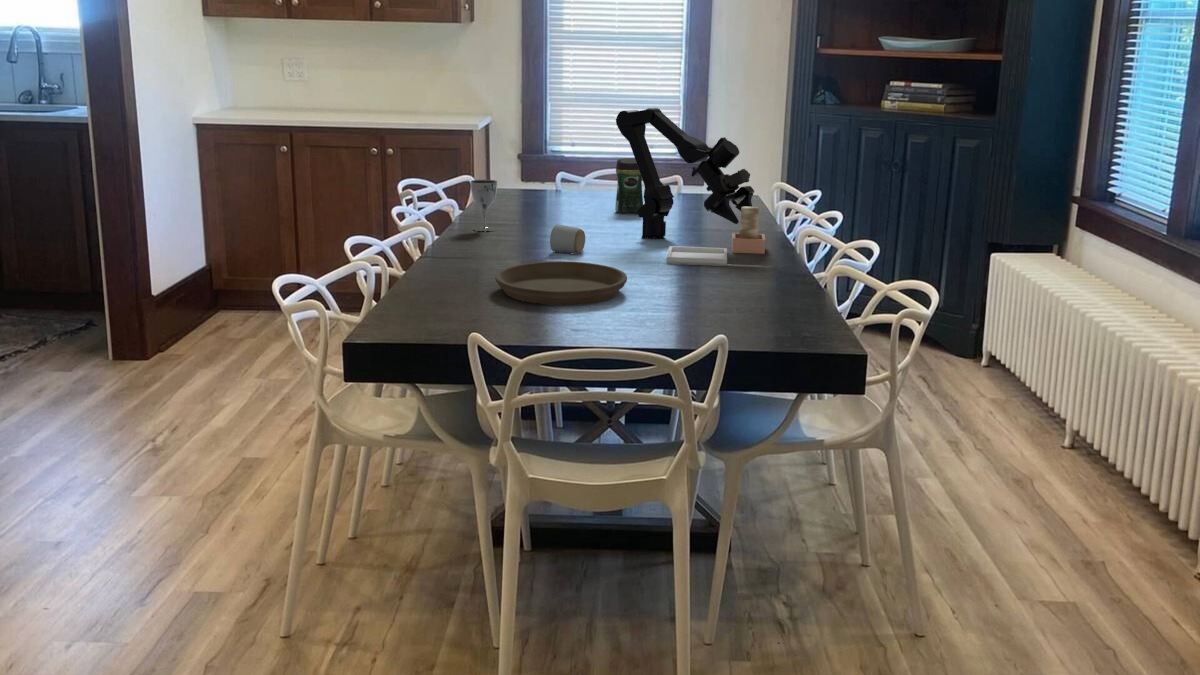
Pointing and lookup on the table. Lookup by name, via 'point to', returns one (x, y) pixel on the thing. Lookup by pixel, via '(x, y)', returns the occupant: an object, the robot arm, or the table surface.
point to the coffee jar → (628, 187)
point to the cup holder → (748, 244)
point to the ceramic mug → (567, 239)
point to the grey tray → (697, 256)
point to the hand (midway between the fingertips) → (746, 221)
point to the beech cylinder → (749, 222)
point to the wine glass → (484, 195)
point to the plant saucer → (561, 282)
